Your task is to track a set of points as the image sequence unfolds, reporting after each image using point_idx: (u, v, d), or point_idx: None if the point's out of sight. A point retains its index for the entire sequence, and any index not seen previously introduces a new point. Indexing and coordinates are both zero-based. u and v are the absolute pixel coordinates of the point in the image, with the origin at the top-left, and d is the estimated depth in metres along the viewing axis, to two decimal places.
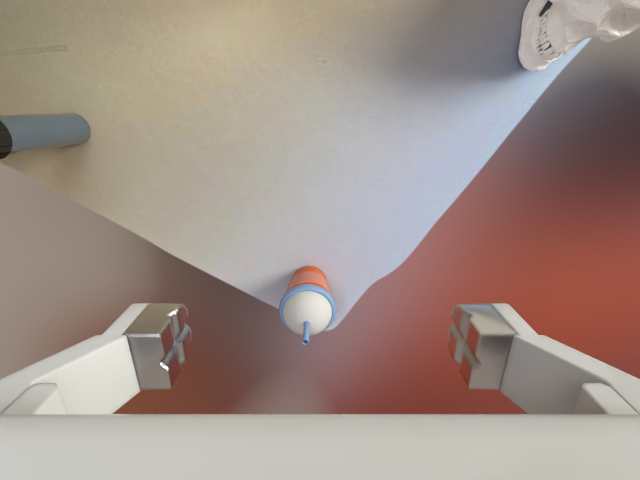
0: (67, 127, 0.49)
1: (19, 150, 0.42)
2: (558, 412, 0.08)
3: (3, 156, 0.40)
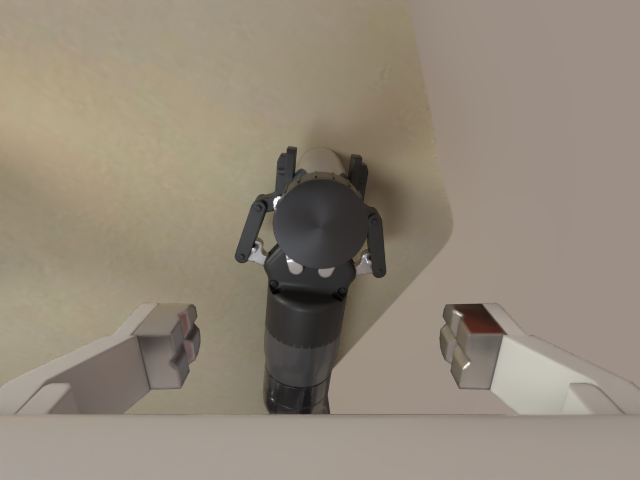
0: None
1: (321, 171, 0.22)
2: (547, 412, 0.08)
3: (327, 173, 0.19)
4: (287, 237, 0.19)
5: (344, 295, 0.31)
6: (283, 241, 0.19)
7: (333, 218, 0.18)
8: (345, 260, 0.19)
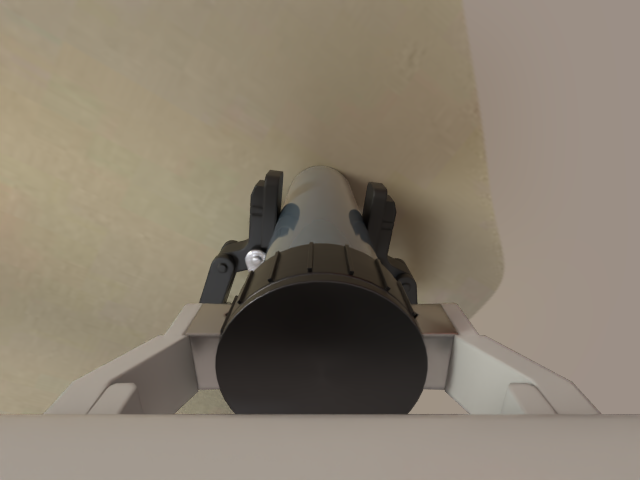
0: (285, 201, 0.20)
1: (322, 230, 0.11)
2: (494, 412, 0.08)
3: (335, 250, 0.09)
4: (248, 395, 0.09)
5: None
6: (240, 401, 0.09)
7: (350, 359, 0.08)
8: None
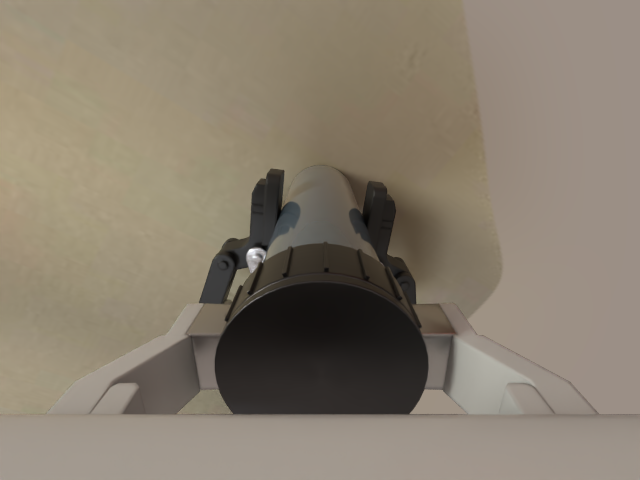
0: (285, 199, 0.20)
1: (323, 227, 0.12)
2: (492, 412, 0.08)
3: None
4: None
5: None
6: None
7: (309, 349, 0.08)
8: (420, 345, 0.08)
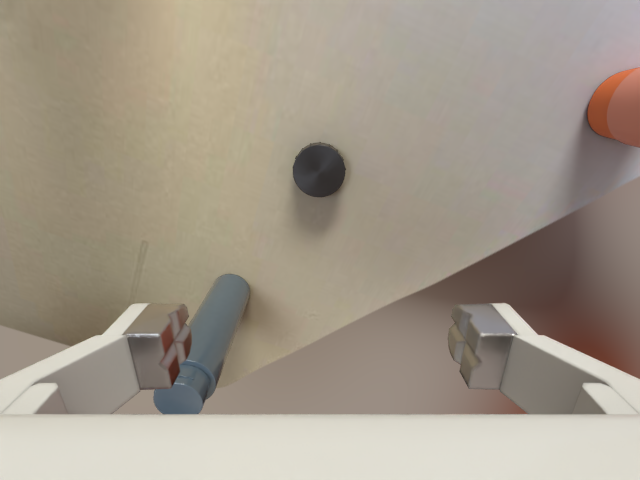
0: (223, 295, 0.36)
1: (219, 363, 0.29)
2: (558, 412, 0.08)
3: None
4: (321, 190, 0.35)
5: None
6: (322, 193, 0.35)
7: (316, 163, 0.34)
8: (342, 162, 0.34)
